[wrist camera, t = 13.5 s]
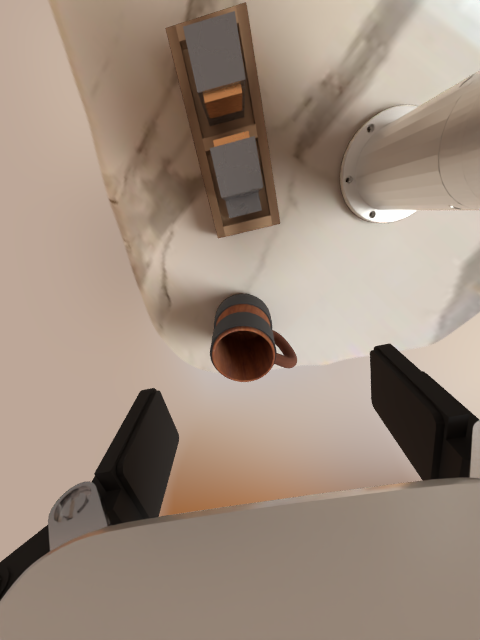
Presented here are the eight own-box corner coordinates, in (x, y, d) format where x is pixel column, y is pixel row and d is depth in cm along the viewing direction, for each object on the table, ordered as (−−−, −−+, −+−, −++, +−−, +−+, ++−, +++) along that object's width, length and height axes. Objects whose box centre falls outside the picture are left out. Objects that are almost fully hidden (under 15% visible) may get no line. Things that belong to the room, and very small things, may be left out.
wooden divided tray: (245, 26, 27) (246, 2, 24) (276, 222, 35) (280, 223, 32) (174, 49, 28) (165, 28, 25) (220, 235, 36) (218, 238, 32)
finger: (232, 47, 26) (228, -28, 18) (245, 123, 29) (247, 88, 21) (195, 58, 27) (174, -11, 18) (211, 132, 29) (199, 101, 21)
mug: (275, 355, 43) (287, 402, 32) (208, 331, 41) (197, 374, 31) (298, 311, 40) (319, 347, 29) (226, 283, 38) (221, 312, 28)
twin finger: (249, 150, 30) (253, 127, 22) (260, 210, 32) (267, 210, 24) (216, 159, 30) (207, 140, 22) (230, 217, 33) (226, 220, 24)
